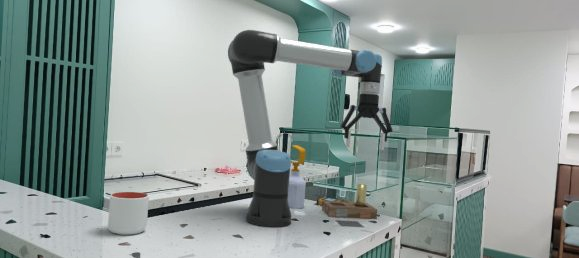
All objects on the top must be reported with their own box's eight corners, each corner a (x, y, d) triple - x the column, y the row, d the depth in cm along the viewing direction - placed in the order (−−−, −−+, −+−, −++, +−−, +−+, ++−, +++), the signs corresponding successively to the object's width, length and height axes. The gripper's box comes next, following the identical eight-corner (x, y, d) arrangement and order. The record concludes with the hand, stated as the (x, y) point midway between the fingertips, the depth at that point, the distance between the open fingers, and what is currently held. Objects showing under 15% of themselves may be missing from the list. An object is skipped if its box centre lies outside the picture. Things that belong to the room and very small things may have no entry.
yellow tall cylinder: (356, 216, 155) (359, 185, 155) (353, 214, 159) (356, 183, 159) (365, 217, 156) (368, 185, 156) (362, 215, 160) (365, 184, 159)
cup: (108, 237, 107) (111, 199, 107) (106, 227, 116) (109, 191, 116) (148, 235, 112) (151, 198, 112) (143, 225, 121) (146, 191, 121)
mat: (341, 227, 137) (341, 226, 137) (335, 221, 145) (335, 220, 145) (364, 228, 138) (364, 227, 138) (357, 222, 146) (357, 221, 146)
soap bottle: (289, 203, 171) (294, 144, 171) (308, 207, 166) (313, 146, 166) (276, 205, 164) (281, 144, 164) (295, 210, 159) (300, 146, 158)
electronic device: (351, 213, 164) (351, 205, 164) (315, 206, 171) (316, 198, 171) (358, 210, 171) (359, 202, 171) (324, 203, 179) (324, 195, 179)
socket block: (376, 220, 152) (377, 209, 152) (329, 218, 150) (330, 207, 149) (366, 212, 164) (366, 202, 164) (322, 210, 162) (322, 200, 162)
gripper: (340, 90, 154) (335, 146, 155) (403, 96, 157) (399, 151, 158) (335, 91, 162) (331, 145, 162) (396, 97, 165) (392, 150, 165)
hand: (364, 148), depth 160 cm, fingers open, 13 cm apart
